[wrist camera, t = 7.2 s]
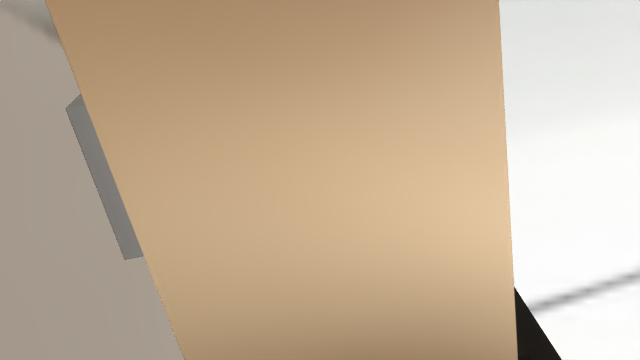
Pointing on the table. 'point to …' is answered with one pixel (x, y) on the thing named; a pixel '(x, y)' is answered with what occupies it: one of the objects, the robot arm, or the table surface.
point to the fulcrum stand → (103, 179)
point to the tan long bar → (309, 170)
